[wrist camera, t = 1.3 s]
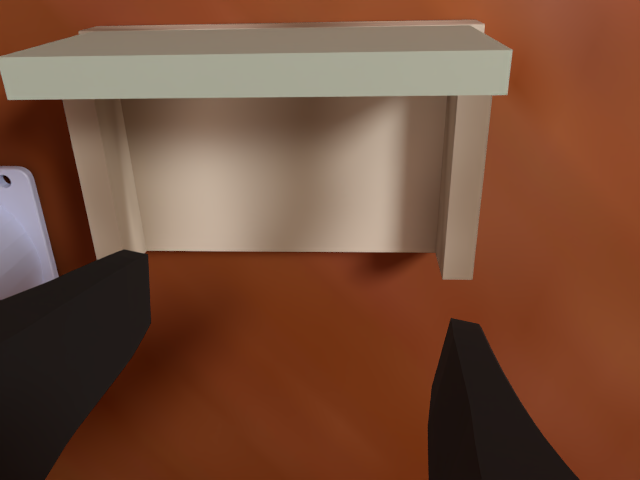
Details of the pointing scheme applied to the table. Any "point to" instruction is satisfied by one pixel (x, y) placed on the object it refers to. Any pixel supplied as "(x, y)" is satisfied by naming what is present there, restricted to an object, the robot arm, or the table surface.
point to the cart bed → (284, 169)
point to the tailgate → (261, 64)
